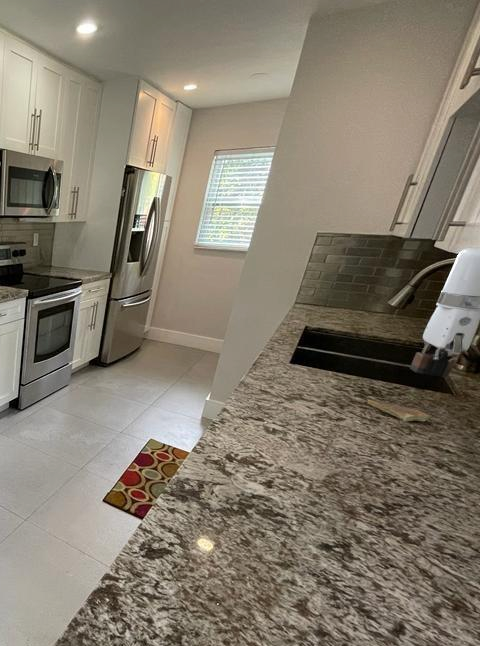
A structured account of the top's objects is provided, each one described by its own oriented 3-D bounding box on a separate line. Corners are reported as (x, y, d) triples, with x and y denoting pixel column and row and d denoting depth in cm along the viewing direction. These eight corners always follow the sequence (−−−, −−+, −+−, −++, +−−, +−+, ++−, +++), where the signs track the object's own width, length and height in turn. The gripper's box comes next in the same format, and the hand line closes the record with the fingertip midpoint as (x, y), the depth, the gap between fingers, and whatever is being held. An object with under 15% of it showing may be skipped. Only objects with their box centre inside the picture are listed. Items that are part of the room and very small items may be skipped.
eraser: (440, 372, 105) (448, 355, 104) (447, 376, 102) (456, 360, 101) (409, 368, 108) (416, 352, 106) (415, 372, 105) (423, 356, 103)
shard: (364, 403, 116) (366, 397, 115) (390, 403, 116) (393, 397, 115) (403, 421, 106) (406, 415, 105) (432, 421, 106) (435, 415, 105)
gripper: (506, 310, 90) (468, 386, 96) (462, 297, 104) (431, 364, 110) (459, 306, 93) (425, 380, 99) (422, 294, 107) (394, 360, 113)
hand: (428, 371), depth 105 cm, fingers closed on eraser, 3 cm apart
